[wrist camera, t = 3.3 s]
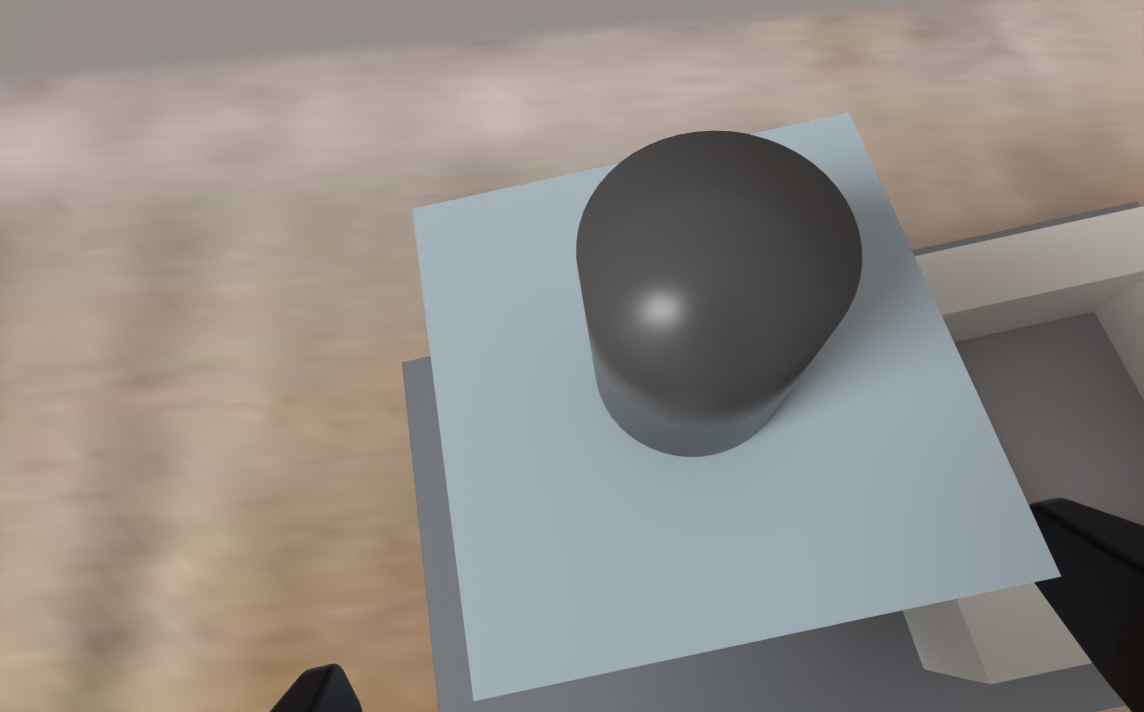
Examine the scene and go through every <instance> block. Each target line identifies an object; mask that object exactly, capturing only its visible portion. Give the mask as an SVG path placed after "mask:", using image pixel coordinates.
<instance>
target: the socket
mask: <svg viewBox="0 0 1144 712" xmlns="http://www.w3.org/2000/svg"><path fill="white" fill-rule="evenodd" d="M915 258H916V260H917V263H918V265H919V267H920V269H921V271H922V274H923V276H924V278H925V280H926V282H927V284H928V287H929V289H930V291H931V293H932V295H933V298H934V300H935V302H936V304H937V306H938V309H939V311H940V313H941V315H942V317H943V319H944V322H945V324H946V326H947V328H948V330H949V333H950V335H951V337H952V339H953V341H954V343H955V346H956V348H957V350H958V352H959V354H960V357H961V359H962V361H963V363H964V365H965V367H966V370H967V372H968V374H969V376H970V378H971V381H972V383H973V385H974V387H975V389H976V391H977V394H978V396H979V398H980V400H981V402H982V405H983V407H984V409H985V411H986V413H987V415H988V418H989V420H990V422H991V424H992V426H993V429H994V431H995V433H996V435H997V437H998V440H999V442H1000V444H1001V446H1002V448H1003V450H1004V453H1005V455H1006V457H1007V459H1008V461H1009V464H1010V466H1011V468H1012V470H1013V472H1014V474H1015V477H1016V479H1017V481H1018V483H1019V485H1020V488H1021V490H1022V492H1023V494H1024V496H1025V498H1026V501H1027V503H1028V505H1029V504H1031V503H1035V502H1039V501H1043V500H1048V499H1052V498H1065V499H1069V500H1072V501H1075V502H1078V503H1081V504H1084V505H1086V506H1089V507H1092V508H1095V509H1098V510H1101V511H1104V512H1107V513H1110V514H1113V515H1116V516H1118V517H1121V518H1124V519H1127V520H1130V521H1133V522H1136V523H1139V524H1142V525H1144V206H1142V207H1138V208H1133V209H1129V210H1124V211H1119V212H1115V213H1110V214H1106V215H1101V216H1096V217H1092V218H1087V219H1083V220H1078V221H1074V222H1069V223H1064V224H1060V225H1055V226H1051V227H1046V228H1042V229H1037V230H1032V231H1028V232H1023V233H1019V234H1014V235H1010V236H1005V237H1000V238H996V239H991V240H987V241H982V242H977V243H973V244H968V245H964V246H959V247H955V248H950V249H945V250H941V251H936V252H932V253H927V254H923V255H918V256H915ZM902 611H903V613H904V616H905V619H906V622H907V624H908V627H909V630H910V633H911V635H912V638H913V641H914V644H915V646H916V649H917V652H918V655H919V657H920V660H921V663H922V666H923V668H924V669H925V670H930V671H934V672H938V673H943V674H947V675H951V676H956V677H960V678H965V679H969V680H973V681H978V682H982V683H986V684H995V683H1000V682H1004V681H1009V680H1014V679H1019V678H1023V677H1028V676H1033V675H1038V674H1042V673H1047V672H1052V671H1057V670H1061V669H1066V668H1071V667H1076V666H1080V665H1085V664H1090V663H1092V662H1091V660H1090V659H1089V658H1088V656H1087V655H1086V654H1085V652H1084V651H1083V649H1082V648H1081V647H1080V645H1079V644H1078V643H1077V641H1076V640H1075V638H1074V637H1073V636H1072V634H1071V633H1070V632H1069V630H1068V629H1067V627H1066V626H1065V625H1064V623H1063V622H1062V621H1061V619H1060V618H1059V616H1058V615H1057V614H1056V612H1055V611H1054V610H1053V608H1052V607H1051V605H1050V604H1049V603H1048V601H1047V600H1046V598H1045V597H1044V596H1043V594H1042V593H1041V592H1040V590H1039V589H1038V587H1037V586H1036V585H1035V583H1034V582H1033V583H1028V584H1023V585H1019V586H1014V587H1009V588H1005V589H1000V590H995V591H990V592H986V593H981V594H976V595H972V596H967V597H962V598H957V599H953V600H948V601H943V602H939V603H934V604H929V605H925V606H920V607H915V608H910V609H906V610H902Z"/></svg>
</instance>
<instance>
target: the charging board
mask: <svg viewBox="0 0 1144 712" xmlns="http://www.w3.org/2000/svg"><path fill="white" fill-rule="evenodd" d="M1138 207H1140V206H1139V204H1138V203H1137V202H1134V203H1129V204H1125V205H1120V206H1116V207H1111V208H1106V209H1102V210H1097V211H1093V212H1088V213H1084V214H1079V215H1074V216H1070V217H1065V218H1061V219H1056V220H1052V221H1047V222H1042V223H1038V224H1033V225H1029V226H1024V227H1020V228H1015V229H1010V230H1006V231H1001V232H997V233H992V234H988V235H983V236H978V237H974V238H969V239H965V240H960V241H955V242H951V243H946V244H942V245H937V246H933V247H928V248H923V249H919V250H914V251H912V252H913V254H914V256H918V255H923V254H927V253H932V252H936V251H941V250H945V249H950V248H955V247H959V246H964V245H968V244H973V243H977V242H982V241H987V240H991V239H996V238H1000V237H1005V236H1010V235H1014V234H1019V233H1023V232H1028V231H1032V230H1037V229H1042V228H1046V227H1051V226H1055V225H1060V224H1064V223H1069V222H1074V221H1078V220H1083V219H1087V218H1092V217H1096V216H1101V215H1106V214H1110V213H1115V212H1119V211H1124V210H1129V209H1133V208H1138ZM402 368H403V377H404V387H405V396H406V405H407V415H408V424H409V434H410V443H411V453H412V462H413V471H414V481H415V490H416V500H417V509H418V519H419V528H420V537H421V547H422V556H423V566H424V575H425V585H426V594H427V603H428V613H429V622H430V632H431V641H432V651H433V660H434V670H435V679H436V688H437V698H438V707H439V712H1095V711H1099V710H1104V709H1109V708H1114V707H1119V706H1123V705H1126V704H1125V703H1124V702H1123V701H1122V700H1121V698H1120V697H1119V696H1118V695H1117V694H1116V692H1115V691H1114V690H1113V689H1112V688H1111V686H1110V685H1109V684H1108V683H1107V681H1106V680H1105V679H1104V678H1103V676H1102V675H1101V674H1100V672H1099V671H1098V670H1097V668H1096V667H1095V666H1094V665H1093V663H1090V664H1085V665H1080V666H1076V667H1071V668H1066V669H1061V670H1057V671H1052V672H1047V673H1042V674H1038V675H1033V676H1028V677H1023V678H1019V679H1014V680H1009V681H1004V682H1000V683H995V684H986V683H982V682H978V681H973V680H969V679H965V678H960V677H956V676H951V675H947V674H943V673H938V672H934V671H930V670H925V669H924V668H923V666H922V663H921V660H920V657H919V655H918V652H917V649H916V646H915V644H914V641H913V638H912V635H911V633H910V630H909V627H908V624H907V622H906V619H905V616H904V613H903V611H902V610H901V611H896V612H892V613H887V614H882V615H877V616H873V617H868V618H863V619H859V620H854V621H849V622H844V623H840V624H835V625H830V626H826V627H821V628H816V629H812V630H807V631H802V632H797V633H793V634H788V635H783V636H779V637H774V638H769V639H764V640H760V641H755V642H750V643H746V644H741V645H736V646H731V647H727V648H722V649H717V650H713V651H708V652H703V653H699V654H694V655H689V656H684V657H680V658H675V659H670V660H666V661H661V662H656V663H651V664H647V665H642V666H637V667H633V668H628V669H623V670H618V671H614V672H609V673H604V674H600V675H595V676H590V677H586V678H581V679H576V680H571V681H567V682H562V683H557V684H553V685H548V686H543V687H538V688H534V689H529V690H524V691H520V692H515V693H510V694H505V695H501V696H496V697H491V698H487V699H482V700H477V701H473V693H472V685H471V677H470V669H469V661H468V653H467V645H466V637H465V629H464V621H463V612H462V604H461V596H460V588H459V580H458V572H457V564H456V556H455V548H454V540H453V532H452V524H451V516H450V508H449V500H448V492H447V484H446V476H445V468H444V460H443V452H442V444H441V436H440V428H439V420H438V412H437V404H436V396H435V388H434V380H433V372H432V363H431V356H429V357H425V358H420V359H416V360H411V361H407V362H402Z"/></svg>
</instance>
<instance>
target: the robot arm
mask: <svg viewBox="0 0 1144 712" xmlns="http://www.w3.org/2000/svg"><path fill="white" fill-rule="evenodd" d="M1029 507H1030V509H1031V512H1032V514H1033V516H1034V518H1035V520H1036V522H1037V525H1038V527H1039V529H1040V531H1041V533H1042V536H1043V538H1044V540H1045V542H1046V544H1047V546H1048V549H1049V551H1050V553H1051V555H1052V557H1053V560H1054V562H1055V564H1056V566H1057V568H1058V571H1059V573H1060V575H1061V577H1056V578H1052V579H1047V580H1042V581H1038V582H1034V583H1035V585H1036V586H1037V587H1038V589H1039V590H1040V592H1041V593H1042V594H1043V596H1044V597H1045V598H1046V600H1047V601H1048V603H1049V604H1050V605H1051V607H1052V608H1053V610H1054V611H1055V612H1056V614H1057V615H1058V616H1059V618H1060V619H1061V621H1062V622H1063V623H1064V625H1065V626H1066V627H1067V629H1068V630H1069V632H1070V633H1071V634H1072V636H1073V637H1074V638H1075V640H1076V641H1077V643H1078V644H1079V645H1080V647H1081V648H1082V649H1083V651H1084V652H1085V654H1086V655H1087V656H1088V658H1089V659H1090V660H1091V662H1092V663H1093V665H1094V666H1095V667H1096V668H1097V670H1098V671H1099V672H1100V674H1101V675H1102V676H1103V678H1104V679H1105V680H1106V681H1107V683H1108V684H1109V685H1110V686H1111V688H1112V689H1113V690H1114V691H1115V692H1116V694H1117V695H1118V696H1119V697H1120V698H1121V700H1122V701H1123V702H1124V703H1125V704H1126V706H1127V707H1128V708H1129V709H1130V710H1131V711H1132V712H1144V525H1142V524H1139V523H1136V522H1133V521H1130V520H1127V519H1124V518H1121V517H1118V516H1116V515H1113V514H1110V513H1107V512H1104V511H1101V510H1098V509H1095V508H1092V507H1089V506H1086V505H1084V504H1081V503H1078V502H1075V501H1072V500H1069V499H1065V498H1052V499H1048V500H1043V501H1039V502H1035V503H1031V504H1029ZM270 712H362V708H361V705H360V702H359V700H358V698H357V696H356V694H355V692H354V690H353V688H352V686H351V684H350V682H349V680H348V678H347V676H346V674H345V672H344V671H343V669H342V668H341V667H340V666H339V665H338V664H328V665H324V666H320V667H315V668H311V669H308V670H306V671H305V672H303V673H302V674H301V675H300V676H299V678H298V679H297V680H296V681H295V682H294V683H293V685H292V686H291V687H290V688H289V689H288V691H287V692H286V693H285V694H284V695H283V696H282V698H281V699H280V700H279V701H278V702H277V704H276V705H275V706H274V707H273V708H272V710H271V711H270Z"/></svg>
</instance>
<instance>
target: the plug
mask: <svg viewBox="0 0 1144 712" xmlns="http://www.w3.org/2000/svg"><path fill="white" fill-rule="evenodd" d="M412 211H413V219H414V227H415V235H416V243H417V251H418V259H419V267H420V275H421V283H422V291H423V299H424V307H425V315H426V323H427V331H428V339H429V347H430V355H431V363H432V372H433V380H434V388H435V396H436V404H437V412H438V420H439V428H440V436H441V444H442V452H443V460H444V468H445V476H446V484H447V492H448V500H449V508H450V516H451V524H452V532H453V540H454V548H455V556H456V564H457V572H458V580H459V588H460V596H461V604H462V612H463V621H464V629H465V637H466V645H467V653H468V661H469V669H470V677H471V685H472V693H473V701H477V700H482V699H487V698H491V697H496V696H501V695H505V694H510V693H515V692H520V691H524V690H529V689H534V688H538V687H543V686H548V685H553V684H557V683H562V682H567V681H571V680H576V679H581V678H586V677H590V676H595V675H600V674H604V673H609V672H614V671H618V670H623V669H628V668H633V667H637V666H642V665H647V664H651V663H656V662H661V661H666V660H670V659H675V658H680V657H684V656H689V655H694V654H699V653H703V652H708V651H713V650H717V649H722V648H727V647H731V646H736V645H741V644H746V643H750V642H755V641H760V640H764V639H769V638H774V637H779V636H783V635H788V634H793V633H797V632H802V631H807V630H812V629H816V628H821V627H826V626H830V625H835V624H840V623H844V622H849V621H854V620H859V619H863V618H868V617H873V616H877V615H882V614H887V613H892V612H896V611H901V610H906V609H910V608H915V607H920V606H925V605H929V604H934V603H939V602H943V601H948V600H953V599H957V598H962V597H967V596H972V595H976V594H981V593H986V592H990V591H995V590H1000V589H1005V588H1009V587H1014V586H1019V585H1023V584H1028V583H1033V582H1038V581H1042V580H1047V579H1052V578H1056V577H1061V575H1060V573H1059V571H1058V568H1057V566H1056V564H1055V562H1054V560H1053V557H1052V555H1051V553H1050V551H1049V549H1048V546H1047V544H1046V542H1045V540H1044V538H1043V536H1042V533H1041V531H1040V529H1039V527H1038V525H1037V522H1036V520H1035V518H1034V516H1033V514H1032V512H1031V509H1030V507H1029V505H1028V503H1027V501H1026V498H1025V496H1024V494H1023V492H1022V490H1021V488H1020V485H1019V483H1018V481H1017V479H1016V477H1015V474H1014V472H1013V470H1012V468H1011V466H1010V464H1009V461H1008V459H1007V457H1006V455H1005V453H1004V450H1003V448H1002V446H1001V444H1000V442H999V440H998V437H997V435H996V433H995V431H994V429H993V426H992V424H991V422H990V420H989V418H988V415H987V413H986V411H985V409H984V407H983V405H982V402H981V400H980V398H979V396H978V394H977V391H976V389H975V387H974V385H973V383H972V381H971V378H970V376H969V374H968V372H967V370H966V367H965V365H964V363H963V361H962V359H961V357H960V354H959V352H958V350H957V348H956V346H955V343H954V341H953V339H952V337H951V335H950V333H949V330H948V328H947V326H946V324H945V322H944V319H943V317H942V315H941V313H940V311H939V309H938V306H937V304H936V302H935V300H934V298H933V295H932V293H931V291H930V289H929V287H928V284H927V282H926V280H925V278H924V276H923V274H922V271H921V269H920V267H919V265H918V263H917V260H916V258H915V256H914V254H913V252H912V250H911V247H910V245H909V243H908V241H907V239H906V236H905V234H904V232H903V230H902V228H901V226H900V223H899V221H898V219H897V217H896V215H895V212H894V210H893V208H892V206H891V204H890V202H889V199H888V197H887V195H886V193H885V191H884V188H883V186H882V184H881V182H880V180H879V178H878V175H877V173H876V171H875V169H874V167H873V164H872V162H871V160H870V158H869V156H868V153H867V151H866V149H865V147H864V145H863V143H862V140H861V138H860V136H859V134H858V132H857V129H856V127H855V125H854V123H853V121H852V119H851V116H850V114H849V113H844V114H840V115H835V116H830V117H826V118H821V119H817V120H812V121H808V122H803V123H799V124H794V125H790V126H785V127H781V128H776V129H772V130H767V131H763V132H758V133H754V134H745V133H738V132H731V131H701V132H692V133H686V134H680V135H676V136H673V137H669V138H666V139H663V140H660V141H658V142H655V143H653V144H650V145H648V146H646V147H644V148H642V149H640V150H638V151H637V152H635V153H633V154H632V155H630V156H629V157H627V158H626V159H624V160H623V161H622V162H620V163H618V164H614V165H609V166H604V167H600V168H595V169H591V170H586V171H582V172H577V173H573V174H568V175H564V176H559V177H555V178H550V179H546V180H541V181H537V182H532V183H528V184H523V185H519V186H514V187H510V188H505V189H501V190H496V191H491V192H487V193H482V194H478V195H473V196H469V197H464V198H460V199H455V200H451V201H446V202H442V203H437V204H433V205H428V206H424V207H419V208H415V209H412Z"/></svg>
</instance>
